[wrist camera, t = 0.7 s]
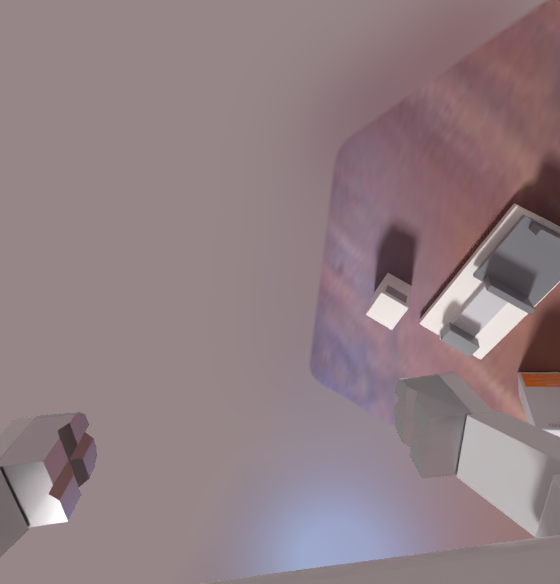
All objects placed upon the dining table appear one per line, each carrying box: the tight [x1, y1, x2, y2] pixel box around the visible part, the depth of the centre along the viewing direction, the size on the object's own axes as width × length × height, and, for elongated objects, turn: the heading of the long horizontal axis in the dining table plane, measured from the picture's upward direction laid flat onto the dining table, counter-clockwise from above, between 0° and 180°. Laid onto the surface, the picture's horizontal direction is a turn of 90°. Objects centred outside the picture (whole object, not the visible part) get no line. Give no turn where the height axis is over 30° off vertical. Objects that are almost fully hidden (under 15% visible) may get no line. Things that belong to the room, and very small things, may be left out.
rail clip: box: [439, 215, 560, 357], centre depth 44 cm, size 20×8×6 cm, turn 155°
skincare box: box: [518, 372, 560, 437], centre depth 45 cm, size 6×4×12 cm
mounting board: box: [419, 203, 560, 360], centre depth 47 cm, size 20×10×2 cm, turn 155°
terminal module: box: [366, 273, 411, 330], centre depth 50 cm, size 4×4×8 cm
